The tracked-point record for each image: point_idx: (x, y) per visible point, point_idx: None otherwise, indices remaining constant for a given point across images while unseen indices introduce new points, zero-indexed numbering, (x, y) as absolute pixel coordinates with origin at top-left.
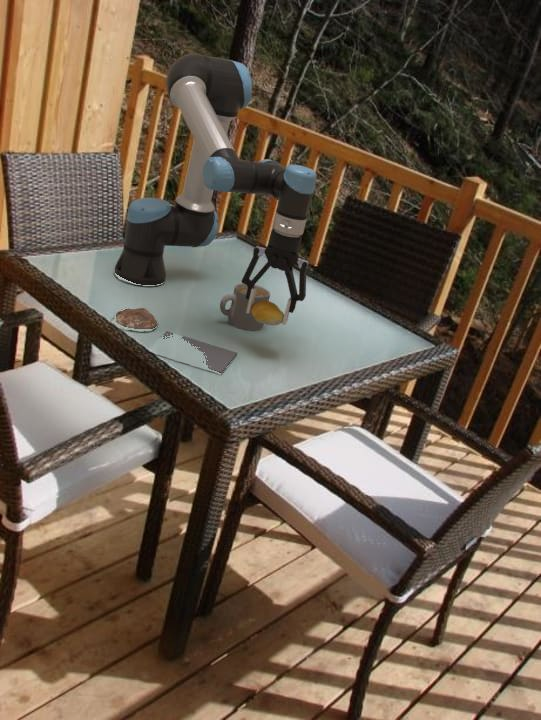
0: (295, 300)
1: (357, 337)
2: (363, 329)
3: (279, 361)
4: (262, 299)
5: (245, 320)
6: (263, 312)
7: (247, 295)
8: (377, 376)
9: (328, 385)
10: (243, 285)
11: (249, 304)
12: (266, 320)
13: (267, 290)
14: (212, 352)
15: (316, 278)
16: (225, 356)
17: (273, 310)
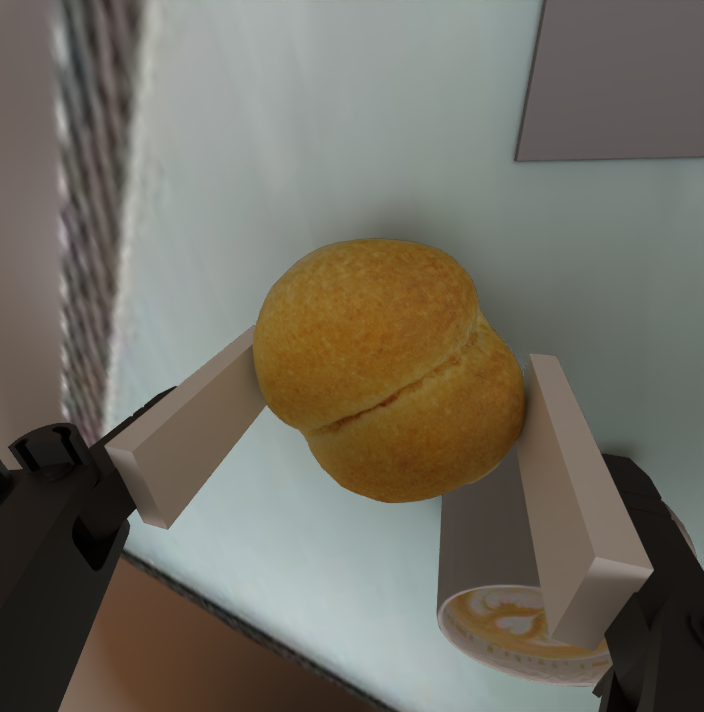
0: (18, 442)
1: (207, 514)
2: (216, 550)
3: (315, 242)
4: (465, 576)
5: (517, 467)
6: (389, 292)
7: (637, 491)
8: (64, 335)
9: (98, 152)
10: (585, 670)
11: (562, 402)
12: (351, 241)
13: (457, 645)
14: (702, 20)
15: (377, 703)
16: (592, 34)
17: (304, 352)
